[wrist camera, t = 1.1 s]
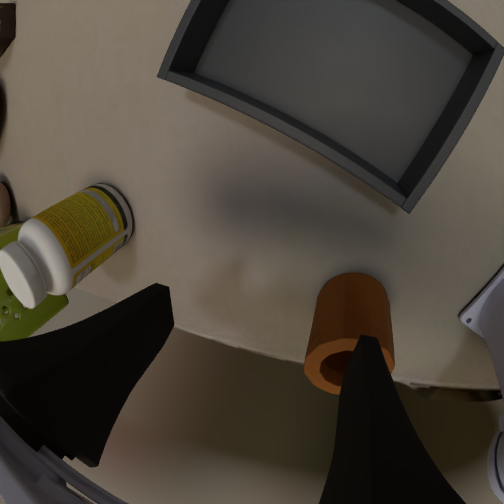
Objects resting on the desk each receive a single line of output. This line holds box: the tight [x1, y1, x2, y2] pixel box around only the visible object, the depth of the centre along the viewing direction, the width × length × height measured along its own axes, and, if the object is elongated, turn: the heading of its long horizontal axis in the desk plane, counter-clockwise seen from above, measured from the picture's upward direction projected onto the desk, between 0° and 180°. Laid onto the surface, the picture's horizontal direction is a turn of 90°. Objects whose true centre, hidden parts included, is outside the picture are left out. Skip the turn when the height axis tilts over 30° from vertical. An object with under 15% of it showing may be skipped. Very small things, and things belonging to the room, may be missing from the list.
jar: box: [304, 273, 395, 394], centre depth 18 cm, size 5×5×6 cm
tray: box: [157, 0, 504, 213], centre depth 11 cm, size 15×11×4 cm
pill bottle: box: [0, 184, 132, 309], centre depth 19 cm, size 6×6×11 cm
